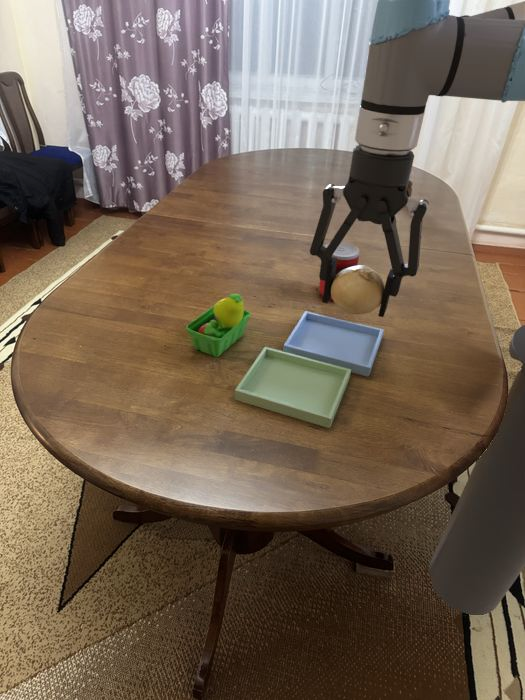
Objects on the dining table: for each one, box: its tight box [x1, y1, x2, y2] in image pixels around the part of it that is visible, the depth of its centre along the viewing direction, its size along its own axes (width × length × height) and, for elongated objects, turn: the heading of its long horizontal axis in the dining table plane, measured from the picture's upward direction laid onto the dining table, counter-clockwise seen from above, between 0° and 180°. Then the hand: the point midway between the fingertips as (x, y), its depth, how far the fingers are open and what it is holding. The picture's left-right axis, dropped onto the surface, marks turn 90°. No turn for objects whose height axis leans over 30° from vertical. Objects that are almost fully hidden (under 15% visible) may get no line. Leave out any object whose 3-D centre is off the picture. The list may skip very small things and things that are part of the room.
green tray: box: [234, 346, 352, 429], centre depth 79 cm, size 16×13×2 cm
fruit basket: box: [185, 293, 252, 358], centre depth 86 cm, size 11×9×11 cm
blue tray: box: [282, 310, 385, 378], centre depth 89 cm, size 16×13×2 cm
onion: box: [331, 264, 385, 315], centre depth 69 cm, size 8×8×7 cm
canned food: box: [318, 241, 360, 302], centre depth 103 cm, size 8×8×11 cm
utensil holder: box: [407, 169, 416, 198], centre depth 155 cm, size 6×6×12 cm
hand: (354, 305), depth 71 cm, fingers closed on onion, 8 cm apart
